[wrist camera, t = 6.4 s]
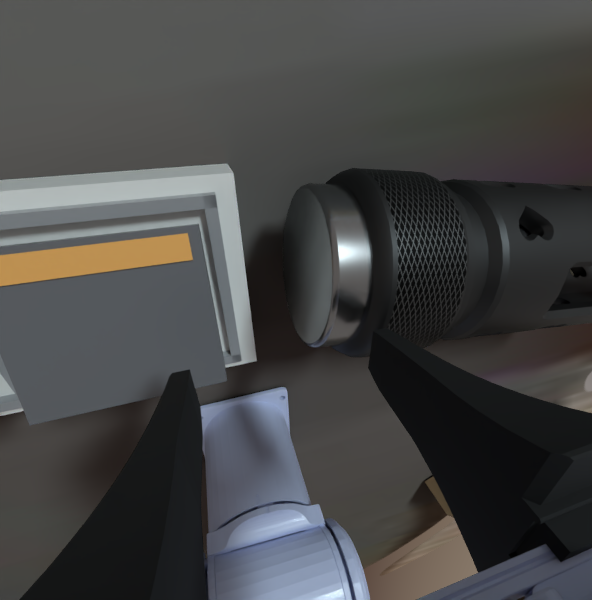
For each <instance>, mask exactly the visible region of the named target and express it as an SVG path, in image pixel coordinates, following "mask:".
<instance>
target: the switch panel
mask: <svg viewBox="0 0 592 600" xmlns="http://www.w3.org/2000/svg"><path fill="white" fill-rule="evenodd" d="M192 224H199V227H200V233H201V238H202V243H203V249H204V254H205V260H206V265H207V270H208V276H209V281H210V286H211V292H212V297H213V303H214V308H215V313H216V319H217V324H218V329H219V335H220V340H221V346H222V351H223V356H224V362H225V367H226V368H227V367H231V366H236V365H241V364H245V363H250V362H255V361H257V358H256V350H255V342H254V334H253V326H252V318H251V310H250V302H249V294H248V286H247V278H246V270H245V263H244V255H243V247H242V239H241V231H240V223H239V215H238V207H237V199H236V191H235V183H234V175H233V172H232V170H231V169H230V167H229V166H228V164H214V165H200V166H187V167H173V168H159V169H146V170H132V171H118V172H105V173H91V174H77V175H64V176H50V177H36V178H23V179H9V180H0V246H5V245H14V244H23V243H32V242H41V241H50V240H58V239H67V238H76V237H85V236H94V235H103V234H112V233H121V232H129V231H138V230H147V229H156V228H165V227H174V226H183V225H192ZM21 411H24V410H23V408H22V405H21V403H20V401H19V398H18V396H17V394H16V391H15V389H14V386H13V384H12V382H11V379H10V377H9V374H8V372H7V370H6V367H5V365H4V362H3V360H2V358H1V355H0V416H3V415H7V414H12V413H17V412H21Z"/></svg>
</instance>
